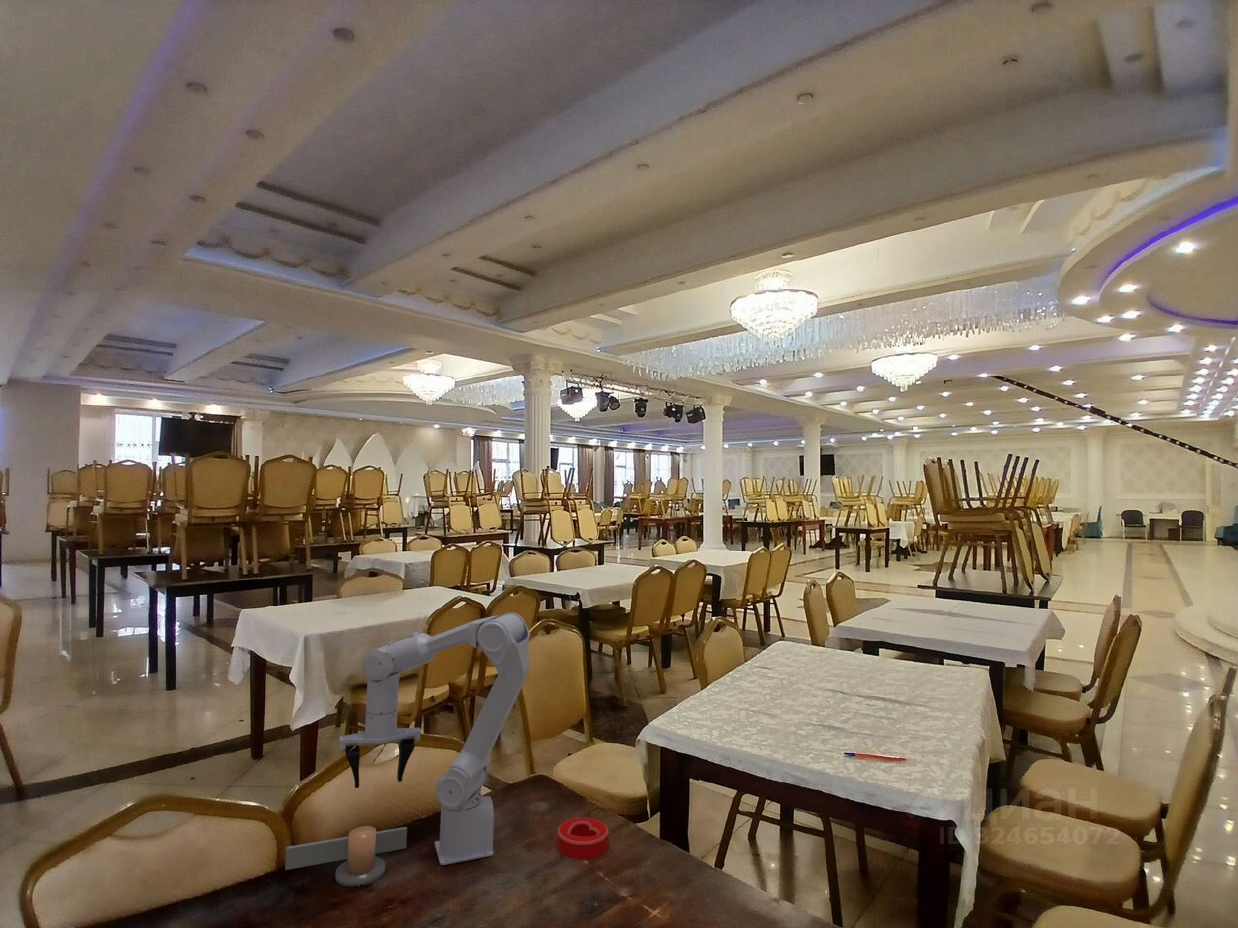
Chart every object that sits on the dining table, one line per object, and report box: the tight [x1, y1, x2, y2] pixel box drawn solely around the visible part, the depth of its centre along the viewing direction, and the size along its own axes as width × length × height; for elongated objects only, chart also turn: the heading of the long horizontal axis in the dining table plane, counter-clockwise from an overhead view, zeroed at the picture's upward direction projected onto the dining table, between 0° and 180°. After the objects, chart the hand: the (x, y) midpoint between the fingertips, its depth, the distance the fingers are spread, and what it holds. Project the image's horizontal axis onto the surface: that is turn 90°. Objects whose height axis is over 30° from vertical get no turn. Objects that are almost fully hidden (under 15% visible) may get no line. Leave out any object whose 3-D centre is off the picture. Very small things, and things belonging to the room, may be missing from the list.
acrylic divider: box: [284, 826, 408, 871], centre depth 115 cm, size 20×1×4 cm, turn 114°
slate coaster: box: [334, 855, 386, 888], centre depth 111 cm, size 8×8×1 cm
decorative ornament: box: [556, 817, 609, 860], centre depth 122 cm, size 10×10×3 cm
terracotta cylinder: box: [347, 825, 377, 876], centre depth 111 cm, size 4×4×6 cm
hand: (378, 782), depth 122 cm, fingers open, 7 cm apart
